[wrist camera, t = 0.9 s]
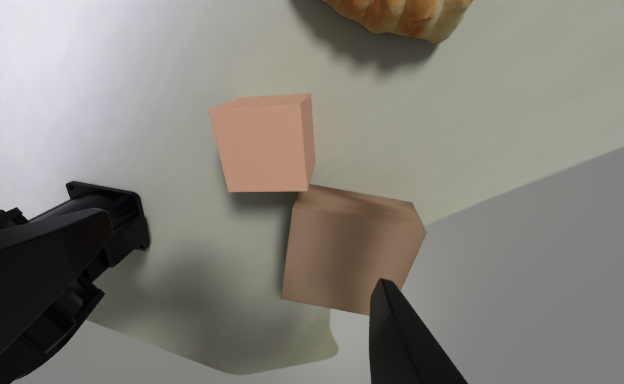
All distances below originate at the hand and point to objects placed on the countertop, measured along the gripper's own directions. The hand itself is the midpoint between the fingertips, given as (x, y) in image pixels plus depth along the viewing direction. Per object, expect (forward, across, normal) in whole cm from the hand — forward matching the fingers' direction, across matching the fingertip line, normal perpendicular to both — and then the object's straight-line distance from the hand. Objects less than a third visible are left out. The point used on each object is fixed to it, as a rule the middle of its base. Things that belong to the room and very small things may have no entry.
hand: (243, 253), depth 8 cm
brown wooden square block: (+12, -5, +7) cm, 15 cm away
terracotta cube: (+12, +2, -1) cm, 12 cm away
